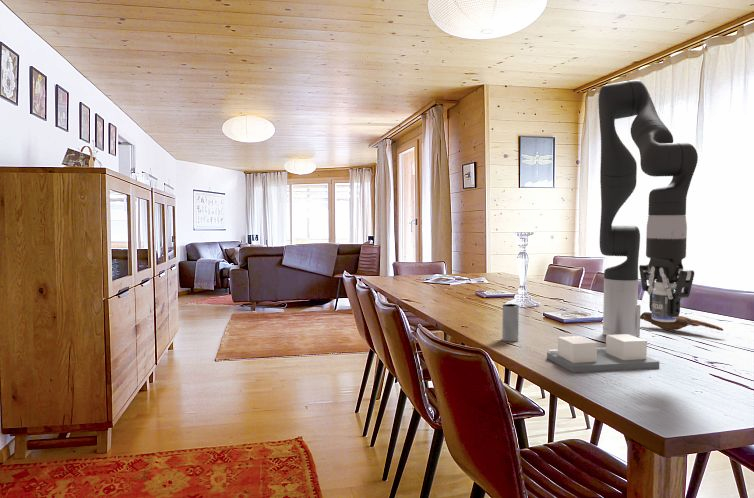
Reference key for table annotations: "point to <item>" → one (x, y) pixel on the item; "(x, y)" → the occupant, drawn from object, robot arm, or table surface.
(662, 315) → the pill bottle
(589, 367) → the rail board
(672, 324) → the bird sculpture
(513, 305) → the planter
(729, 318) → the table surface
